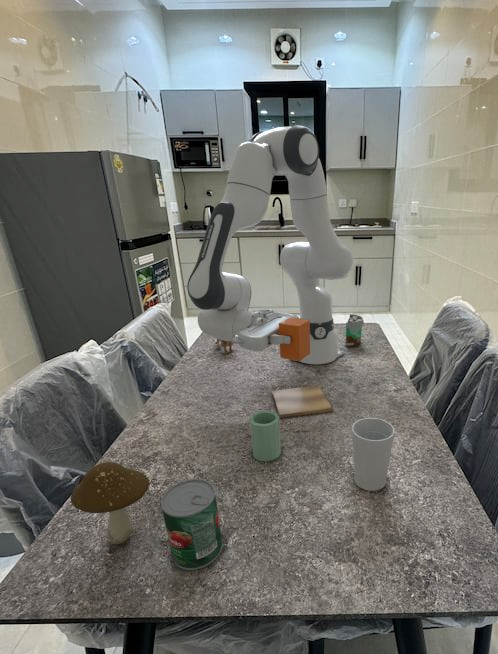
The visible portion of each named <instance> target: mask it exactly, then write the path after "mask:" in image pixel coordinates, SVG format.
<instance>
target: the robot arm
mask: <svg viewBox="0 0 498 654" xmlns="http://www.w3.org/2000/svg"><path fill="white" fill-rule="evenodd" d="M230 164H231V165H230V168H229V171H228V176H227V180H226V184H225V185H226V186H225V190H224V194H223V197H222V199H221V200H220V203H217V205H215V207H214V208H213V210H212V212H211V215H210V217H209V221H208V223H207V226H206V229H205V233H204V237H203V239H202V243H201V247H200V249H199V254H198V257H197V260H196V263H195V265H194V268H193V269H192V271H191V273H190V275H189V278H188V280H187V294H188V297H189V299H190V301H191V302H192V303H193V305H194V306H195V307H196V308H198V309H200V310H199V312H198V315H197V325H198V328H199V329H200V331H201V332H202V333H204V334H205V335H206V336H208V337H211V338H212V339H216V340H217V339H220V340H225V341H232V343H233V344H237V345H238V346H239V347H240V348H241V349H245V350H249V351H251V352H252V351H253V352H263V351H265V350H266V349H268V348H270V347H271V346H273V345H280V344H282V343H285V344H289V343H291V342H292V336H291V335H279V323H280V322H282V321H284V320H286V319H288V318H290V317H292V318H299V319H307V320H310V354H309V355H308V356H306V357H305V358H304V359H302V360H301V361H298V362H299V363H303V364H307V365H326V364H329V363H332V362H334V361H335V360H337V358H339V357H341V356H342V355H343V352H342V351H341V350H340V349H339V340H338V337H339V336H338V333H337V332H336V331H335V330H334V328H335V327H334V326H335V321H334V318H333V296H332V294H331V293H330V292H329V291H328V290H327V289H326V288H325V287H324V286H323V285H322V282H321V280H330V281H335V280H343V279H345V278H347V277H348V276H349V274H351V272H352V270H353V267H354V257H353V253H352V251H351V250H350V248H348V246H346V244H344V243H343V242H342V241H341V240H340V239H339V237H338V236H337V233H336V231H335V230H334V228H333V225H332V222H331V217H330V211H329V210H330V209H329V203H328V201H329V200H328V192H327V184H326V179H325V173H324V169H323V166H322V162H321V159H320V147H319V142H318V140H317V137H316V135H315V133H314V131H313V130H312V129H310V127H306V126H303V125H293V126H277V127H274V128H271V129H268V130H261V131H259V132H256V133H255V134H253V135H251V137H250V138H249V139H248V140H247V141H245V142H242V143H240V144H239V145H238V146H237V147H236V150H235V152H234V155H233V158H232V160H231V163H230ZM275 176H277V177H278V176H280V177H281V176H282V177H283V176H285V178H286V179H287V184H288V185H287V186H288V195H289V203H290V211H291V217H292V218H291V220H292V224H293V226H294V227H295V229H296V230H297V231H298V232H300V233H301V234H302V235H303V236H304V237H305V238H306V240H307V242H305V241H296V242H292V243H288V244H286V245H284V247H282V249H281V251H280V255H279V263H280V266H281V268H282V270H283V271H284V272H285V273H286V274H287V276H288V277H289V278H290V280H291V282H292V283H293V286H294V287H295V290H296V293H297V297H298V304H299V305H298V306H299V316H298V315H296V314H292V313H288V312H282V311H274V309H272V308H267V309H261V310H260V309H259V310H250V309H249V308H250V305H251V299H252V287H251V284H250V282H249V280H248V279H247V278H246V277H245V276H243V275H240V274H235V273H231V272H225V271H223V265H224V263H225V259H226V255H227V252H228V248H229V246H230V242H231V239H232V237H233V236H234V235H235V234H236V233H237V232H240V230H244V229H248V228H249V229H250V228H251V227H252V228H253V227H254V226H256V225H258V224H259V223H261V222H262V220H263V219H264V218H265V216H266V213H267V212H268V211H267V210H268V207H269V203H270V197H271V192H272V191H271V190H272V183H273V179H274V177H275ZM289 360H290V361H294V362H297V361H296V360H291V359H289Z"/></svg>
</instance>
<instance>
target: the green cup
mask: <svg viewBox="0 0 498 654" xmlns="http://www.w3.org/2000/svg"><path fill="white" fill-rule="evenodd" d="M280 424H281V423H280V417H279V414H278V412H275V411H272V410H260V411H258V412H255V413H253V414H252V415H251V416H250V417H249V426H250V438H251V449H252V456H253V458H254V459H255V460H257V461H259V462H272V461H274V460H277V459H278V458H279V457H280V456H281V454H282V443H281V440H282V439H281V425H280Z"/></svg>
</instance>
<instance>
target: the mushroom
mask: <svg viewBox="0 0 498 654" xmlns="http://www.w3.org/2000/svg"><path fill="white" fill-rule="evenodd" d="M150 483H151V482H150V479H149V477H147V475H145V473H143V472H141V471H139V470H137V469H132V468H128V467H125V466H123V465H122V464H120V463H118V462H114V461H104V462H100V463H97V464H96V465H94V466H92V467H91V468H89V470H87V472H86V473H85V474H84V476H83V478H82V480H81V482H79V483H78V484H77V485H76V486H75V488H74V489H73V490H72V492H71V494H70V503H71V505H72V506H73V507H74V508H75V509H76V510H78V511H80V512H84V513H87V514H105V513H109V515H108V522H107V523H108V525H107V539H108V541H109V542H110V543H111V544H113V545H120V544H123V543H124V542H127V540H129V538H130V536H131V534H132V530H133V525H132V521H131V517H130V514H129V513H128V510H127V507H130V506H132V505H133V504H135V503H137V502H138V501H139V500H141V499H142V498H143V497H144V496H145V494H146V493H147V491H148V490H149V487H150Z"/></svg>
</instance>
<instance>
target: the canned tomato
mask: <svg viewBox="0 0 498 654" xmlns="http://www.w3.org/2000/svg"><path fill="white" fill-rule="evenodd" d="M160 507H161V509H162V515H163V521H164V524H165V528H166V534H167V538H168V543H169V547H170V553H171V557H172V561H173V563H174V564H175V565H176V566H177V567H178V568H179V569H181V570H185V571H196V570H199V569H204V568H205V567H207V566H209V565H211V564H212V563H213V562H215V561H216V559H217V558H218V557H219V556H220V554H221V552H222V550H223V544H224V543H223V538H222V530H221V525H220V524H221V523H220V518H219V517H220V516H219V510H218V502H217V496H216V489H215V486H214V485H213V484H212V483H211V482H209V481H207V480H205V479H202V478H201V479H200V478H192V479H185V480H183V481H182V480H181V481H180V482H178V483H176V484H174V485H172V486H171V487H169V488H168V489H167V490H166V491H165V493H164V494H162V497H161V500H160Z"/></svg>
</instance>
